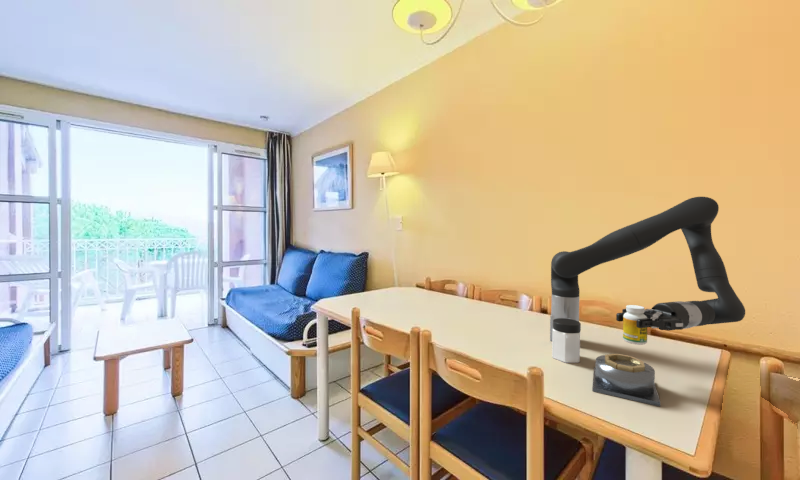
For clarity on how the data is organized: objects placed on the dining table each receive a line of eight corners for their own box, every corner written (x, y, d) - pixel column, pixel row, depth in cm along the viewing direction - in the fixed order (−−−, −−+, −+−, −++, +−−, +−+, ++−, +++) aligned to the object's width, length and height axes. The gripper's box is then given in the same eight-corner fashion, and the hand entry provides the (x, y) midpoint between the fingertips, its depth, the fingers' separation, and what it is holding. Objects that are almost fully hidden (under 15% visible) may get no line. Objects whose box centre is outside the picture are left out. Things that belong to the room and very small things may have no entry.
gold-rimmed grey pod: (592, 391, 85) (592, 364, 85) (593, 370, 97) (594, 346, 97) (660, 406, 78) (661, 377, 78) (652, 382, 90) (653, 356, 89)
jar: (573, 352, 111) (573, 317, 110) (586, 363, 102) (587, 325, 102) (546, 352, 111) (547, 318, 110) (558, 363, 103) (558, 325, 102)
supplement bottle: (627, 336, 92) (628, 303, 92) (650, 342, 88) (651, 307, 87) (619, 340, 89) (619, 306, 89) (642, 346, 85) (642, 310, 84)
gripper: (651, 296, 98) (604, 300, 94) (705, 308, 84) (654, 313, 80) (650, 321, 99) (604, 326, 95) (704, 337, 85) (653, 343, 81)
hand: (627, 320), depth 88 cm, fingers closed on supplement bottle, 5 cm apart
